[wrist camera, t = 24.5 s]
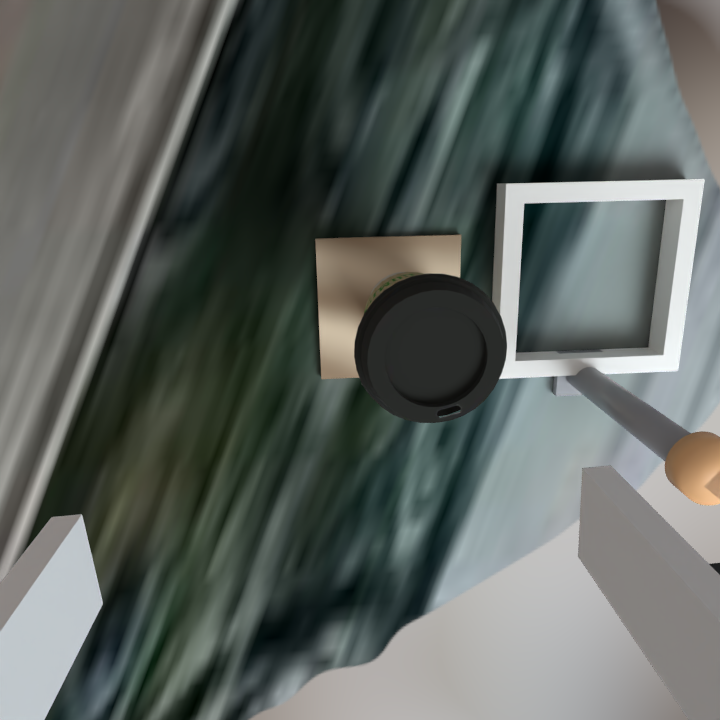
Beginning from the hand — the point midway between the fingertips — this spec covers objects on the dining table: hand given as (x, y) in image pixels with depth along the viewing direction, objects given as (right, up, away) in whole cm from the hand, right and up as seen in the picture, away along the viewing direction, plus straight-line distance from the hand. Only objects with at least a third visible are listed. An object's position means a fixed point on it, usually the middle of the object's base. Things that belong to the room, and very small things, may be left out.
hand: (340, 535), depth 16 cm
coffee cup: (+4, +9, +35) cm, 37 cm away
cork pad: (+3, +9, +36) cm, 37 cm away
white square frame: (+20, +11, +36) cm, 43 cm away
